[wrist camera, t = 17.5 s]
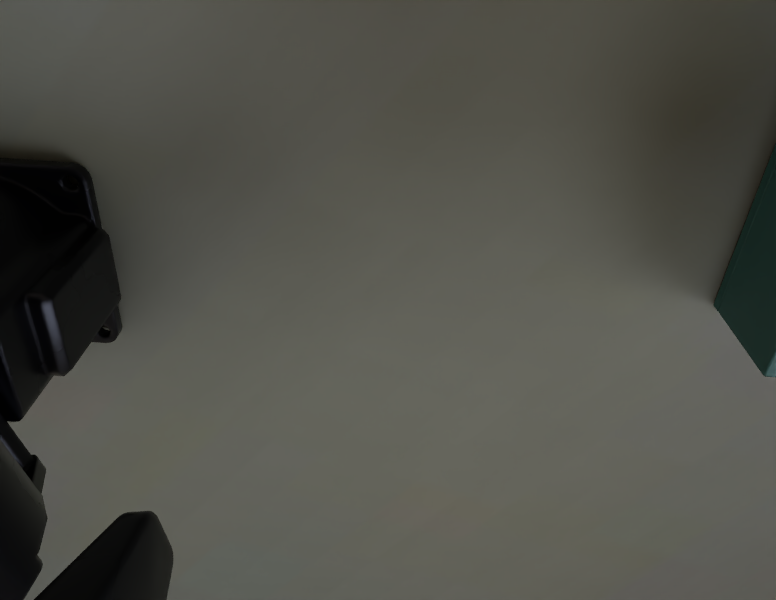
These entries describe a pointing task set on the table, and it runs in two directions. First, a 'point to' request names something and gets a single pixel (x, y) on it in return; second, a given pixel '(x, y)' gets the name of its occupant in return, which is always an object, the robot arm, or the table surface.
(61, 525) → the table surface
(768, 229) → the teal tote
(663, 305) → the table surface
